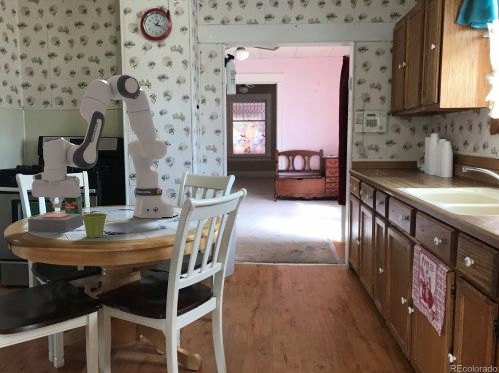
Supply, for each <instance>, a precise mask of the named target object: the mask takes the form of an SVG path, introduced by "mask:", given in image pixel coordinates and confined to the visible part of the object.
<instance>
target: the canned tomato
mask: <svg viewBox="0 0 499 373" xmlns="http://www.w3.org/2000/svg"><path fill="white" fill-rule="evenodd" d="M82 196H83V194H81V195H80V196H79V197H77V198H64V213H66V214H83V197H82Z"/></svg>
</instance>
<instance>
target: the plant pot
mask: <svg viewBox="0 0 499 373" xmlns="http://www.w3.org/2000/svg"><path fill="white" fill-rule="evenodd" d="M107 216H108V214H107V213H101V212H98V213H97V212H96V213H95V212H94V213H93V212H91V213H85V214H83V215H82V217H83V225H84V228H85V235H86V237H87V238H88V239H95V238H102V237H103V236H104V230H105V222H106V219H107Z"/></svg>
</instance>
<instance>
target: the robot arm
mask: <svg viewBox="0 0 499 373" xmlns="http://www.w3.org/2000/svg"><path fill="white" fill-rule="evenodd" d="M121 100H123V102H124V104H125V106H126V111H127V117H128V120H129V126H130V128H131V130H132V131H133V132H134V134H135V135H136V138H135V139H132V140H131V141H130V142H129V143H128V146H127V152H128V155H129V156H130V157H131V159H132V163H133V165H134V172H135V188H134V189H135V191H134V198H135V203H134V204H135V205H134V210H133V214H132V216H133V217H137V218H139V219H163V218H162V217H173V216H176V215H178V216H179V213H178V211H175V209H174V204H173V202H172V201H170V200H169V199H168V198H167V197H166V196H164V195H163V188H161V187H160V186H159V172H158V170H157V168H156V166H155V164H154V161H160V160H162V159H163V158H165V157H166V155H167V151H168V147H167V144H166V143H165V141H163V140H162V139H161V137H160V136H159V134H158V131H157V130H156V128H155V127H156V126H155V124H154V120H153V116H152V115H153V114H152V111H151V107H150V103H149V99H148V97H147V94H146V92H145V90H144V89H143V88H141V86H140V84H139V82H138V79H137V78H136V77H135V76H134V75H130V74H119V75H114V76H112V77H107V78H105V79H98V78H96V79H93V80H92V81H91V82H90V84H89V86H88V87H87V89H86V90H85V92H84V94H83V97H82V100H81V102H80V104H79V112H80V113H79V114H80V116H81V117H82V118H83V119H84V120H85V121H86V122H87V128H86V132H85V135H84V139H83V142H82V143H81V144H79V145H78V144H74V143H71V142H70V141H67V140H66V139H65V138H64V137H62V136H56V137H51V138H50V137H49V138H46V140H44V142H43V152H42V153H43V161H44V167H43V171H41V172H39V173H37V174H33V175H32V180H33V181H32V183H31V196H32V197H33V198H49V201H50V203H51V204H52V209H61V208H62V203H63V201H65V198H77V197H79V196H80V195H81V193H82V192H81V186H80V184H81V183H80V178H79V177H78V176H76V175H68V174H67V173H68V171H67V169H68V168H67V167H68V166H69V167H72V168H79V169H82V170H90V169H92V168H93V167H94V166H95V165H96V164H97V162H98V159H99V147H100V146H99V145H100V141H101V138H102V134H103V130H104V126H105V120H106V118H105V115H106V112H107V110H108V107H109V103H110V101H121ZM56 198H57V200H58V202H56V201H55V200H56ZM176 217H177V216H176ZM173 218H174V217H173Z"/></svg>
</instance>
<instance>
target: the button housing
mask: <svg viewBox="0 0 499 373" xmlns="http://www.w3.org/2000/svg"><path fill="white" fill-rule="evenodd" d="M50 214H66V213H65V212H64V213H59V212H58V213H57V212H47V213H44V214H41V215H37V216H35V217H30V218H28V219H27V225H28V226H27V228H28V229H27V230H28V232H42V231H44V232H45V233H47V232H49V233H68V232H69V231H72V230H75V229H77V228H79V227H82V226H84V220H83V217H82V215H84V214H83V213H82V214H70V216H67V217H64V218H43V216H46V215H50Z"/></svg>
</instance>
